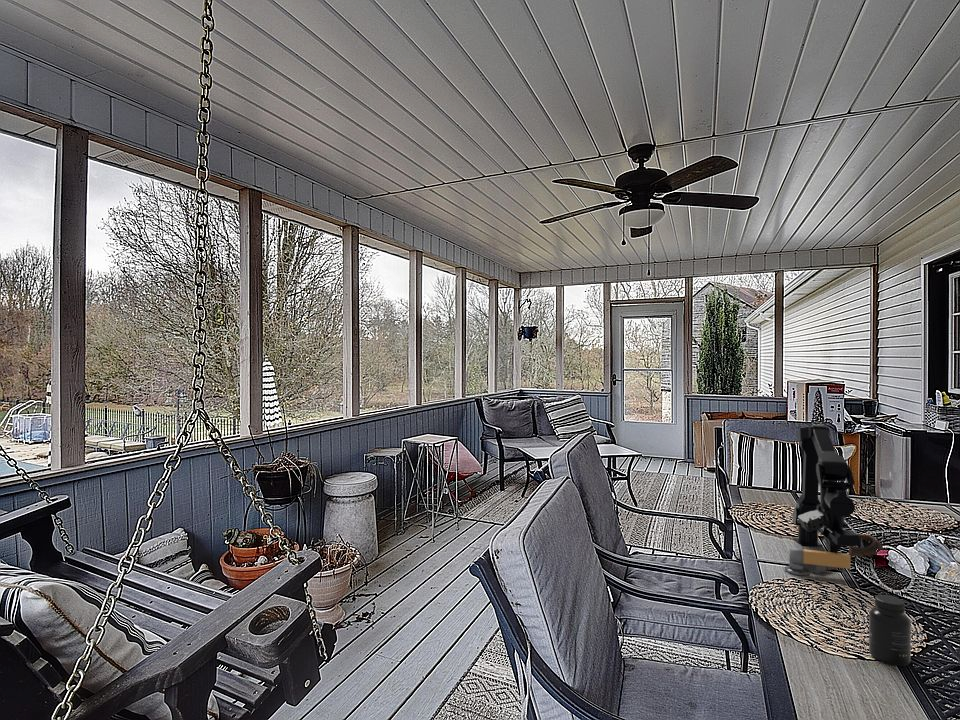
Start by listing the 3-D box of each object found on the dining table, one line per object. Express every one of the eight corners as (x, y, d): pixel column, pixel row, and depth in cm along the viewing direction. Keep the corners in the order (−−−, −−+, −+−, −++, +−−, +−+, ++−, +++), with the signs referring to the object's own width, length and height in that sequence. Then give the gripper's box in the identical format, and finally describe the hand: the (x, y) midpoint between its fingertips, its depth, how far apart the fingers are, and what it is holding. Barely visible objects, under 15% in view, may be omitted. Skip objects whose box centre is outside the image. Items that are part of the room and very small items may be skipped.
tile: (792, 565, 161) (792, 556, 161) (802, 562, 163) (802, 554, 163) (816, 573, 155) (816, 564, 155) (826, 570, 157) (826, 561, 157)
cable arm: (790, 563, 155) (790, 550, 155) (788, 558, 159) (788, 546, 159) (851, 569, 150) (851, 557, 150) (847, 565, 154) (847, 552, 154)
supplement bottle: (860, 649, 114) (860, 592, 114) (890, 648, 115) (891, 591, 115) (887, 668, 107) (887, 607, 107) (919, 666, 108) (920, 606, 108)
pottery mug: (897, 566, 161) (886, 543, 160) (864, 577, 163) (853, 554, 162) (874, 544, 172) (864, 522, 171) (844, 555, 175) (834, 533, 174)
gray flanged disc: (781, 567, 160) (781, 558, 160) (802, 568, 159) (802, 559, 159) (790, 575, 154) (790, 565, 154) (812, 576, 153) (812, 566, 153)
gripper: (787, 493, 164) (788, 542, 165) (818, 516, 145) (818, 572, 147) (826, 492, 163) (827, 542, 164) (863, 515, 144) (863, 572, 145)
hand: (832, 556), depth 155 cm, fingers closed
